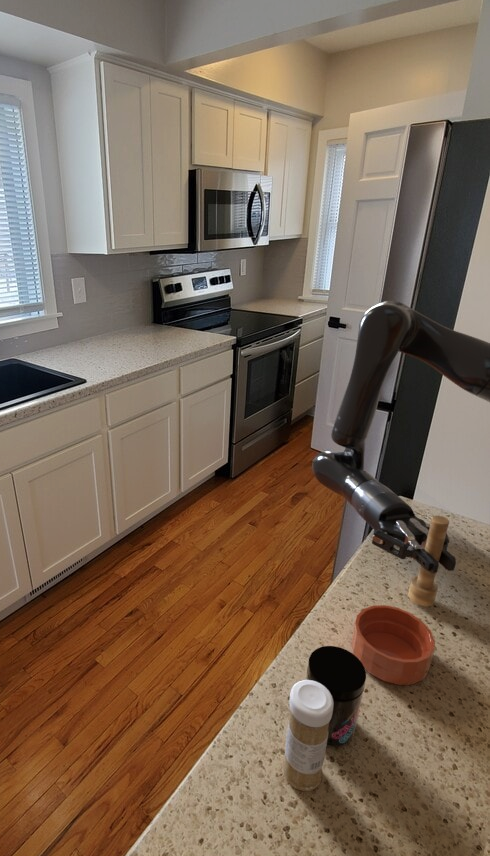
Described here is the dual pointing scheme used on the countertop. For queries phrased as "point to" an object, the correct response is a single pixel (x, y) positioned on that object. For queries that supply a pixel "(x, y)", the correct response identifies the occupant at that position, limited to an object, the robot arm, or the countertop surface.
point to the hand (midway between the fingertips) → (444, 567)
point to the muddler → (424, 584)
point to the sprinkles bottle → (307, 734)
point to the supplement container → (339, 689)
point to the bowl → (393, 644)
